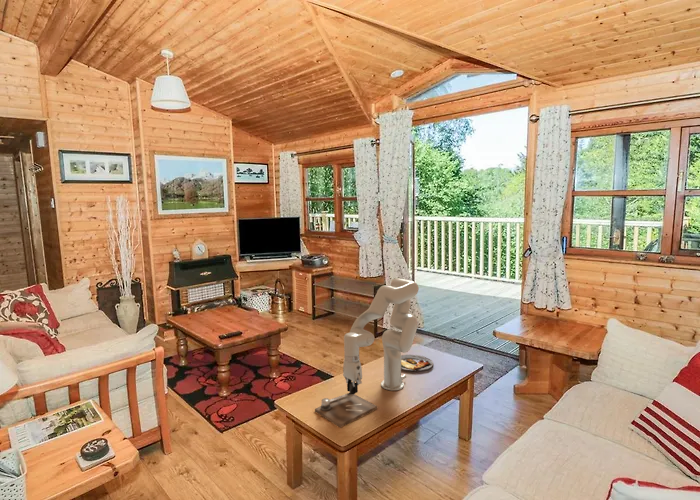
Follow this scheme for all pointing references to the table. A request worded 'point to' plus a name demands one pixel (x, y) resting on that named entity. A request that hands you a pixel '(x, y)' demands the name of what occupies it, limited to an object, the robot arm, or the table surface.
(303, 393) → the table surface
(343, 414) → the cracker board
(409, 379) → the table surface
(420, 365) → the food plate
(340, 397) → the lever
